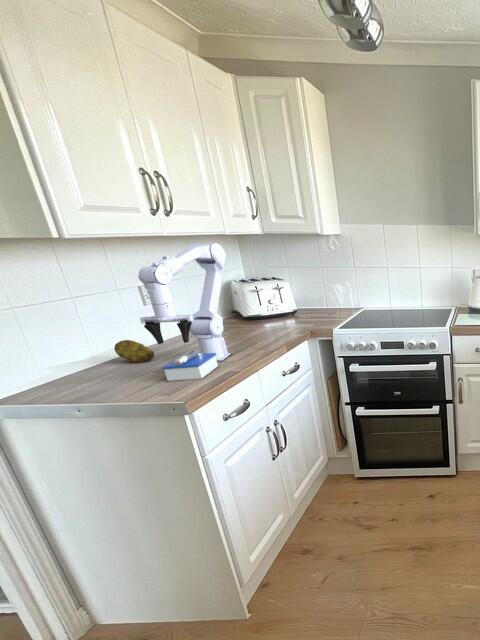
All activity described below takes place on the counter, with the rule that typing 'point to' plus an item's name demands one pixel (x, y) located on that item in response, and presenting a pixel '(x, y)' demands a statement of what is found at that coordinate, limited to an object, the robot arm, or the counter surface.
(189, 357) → the spoon
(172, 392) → the counter surface
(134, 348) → the potato
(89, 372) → the counter surface
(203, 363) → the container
